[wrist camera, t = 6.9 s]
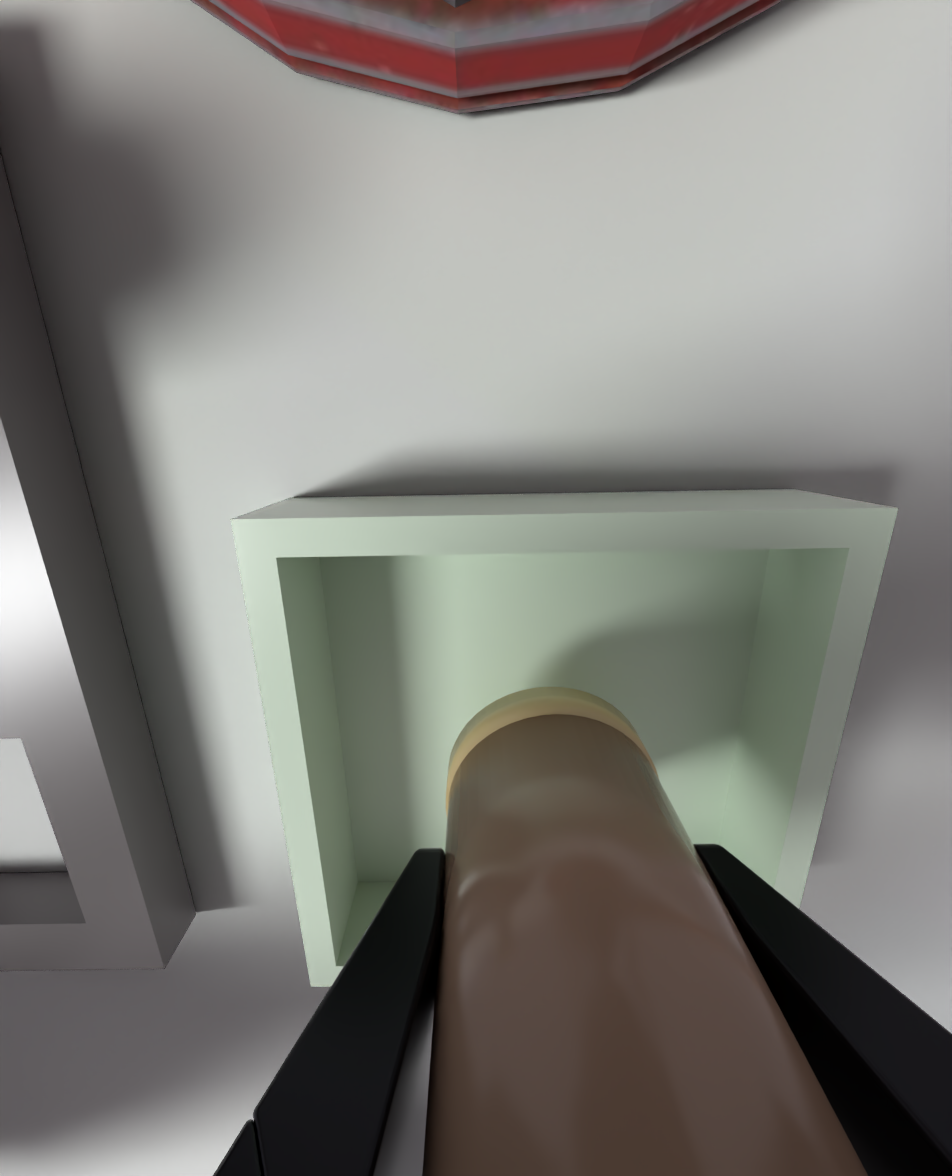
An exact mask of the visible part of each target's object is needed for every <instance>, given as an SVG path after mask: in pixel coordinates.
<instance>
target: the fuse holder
mask: <svg viewBox="0 0 952 1176" xmlns="http://www.w3.org/2000/svg"><path fill="white" fill-rule="evenodd" d="M4 738H21V740H22V743H23V746H24V748H25V751H26V754H27V757H28V760H29V763H30V765H31V768H32V771H33V774H34V777H35V780H36V782H37V785H38V788H39V791H40V794H41V797H42V799H43V802H44V805H45V808H46V811H47V814H48V817H49V819H50V822H51V825H52V828H53V831H54V834H55V836H56V839H57V842H58V845H59V848H60V851H61V853H62V856H63V859H64V862H65V865H66V868H67V870H68V872H59V873H0V971H36V970H109V969H165V967H166V965H167V964H168V962H169V960H170V958H171V957H172V955H173V953H174V952H175V950H176V948H177V946H178V945H179V943H180V941H181V939H182V938H183V936H184V934H185V932H186V931H187V929H188V927H189V926H190V924H191V922H192V920H193V919H194V917H195V915H196V911H195V908H194V904H193V900H192V896H191V892H190V888H189V884H188V880H187V876H186V873H185V869H184V865H183V861H182V857H181V853H180V849H179V845H178V842H177V838H176V834H175V830H174V826H173V822H172V818H171V814H170V810H169V807H168V803H167V799H166V795H165V791H164V787H163V783H162V779H161V775H160V772H159V768H158V764H157V760H156V756H155V752H154V748H153V744H152V741H151V737H150V733H149V729H148V725H147V721H146V717H145V713H144V709H143V706H142V702H141V698H140V694H139V690H138V686H137V682H136V678H135V674H134V671H133V667H132V663H131V659H130V655H129V651H128V647H127V643H126V640H125V636H124V632H123V628H122V624H121V620H120V616H119V612H118V608H117V605H116V601H115V597H114V593H113V589H112V585H111V581H110V577H109V574H108V570H107V566H106V562H105V558H104V554H103V550H102V546H101V542H100V539H99V535H98V531H97V527H96V523H95V519H94V515H93V511H92V507H91V504H90V500H89V496H88V492H87V488H86V484H85V480H84V476H83V473H82V469H81V465H80V461H79V457H78V453H77V449H76V445H75V441H74V438H73V434H72V430H71V426H70V422H69V418H68V414H67V410H66V406H65V403H64V399H63V395H62V391H61V387H60V383H59V379H58V375H57V372H56V368H55V364H54V360H53V356H52V352H51V348H50V344H49V340H48V337H47V333H46V329H45V325H44V321H43V317H42V313H41V309H40V305H39V302H38V298H37V294H36V290H35V286H34V282H33V278H32V274H31V271H30V267H29V263H28V259H27V255H26V251H25V247H24V243H23V239H22V236H21V232H20V228H19V224H18V220H17V216H16V212H15V208H14V204H13V201H12V197H11V193H10V189H9V185H8V181H7V177H6V173H5V170H4V166H3V162H2V158H1V154H0V739H4Z"/></svg>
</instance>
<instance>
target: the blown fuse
mask: <svg viewBox="0 0 952 1176" xmlns="http://www.w3.org/2000/svg"><path fill="white" fill-rule="evenodd" d="M446 815H447V829H446V843H445V864H444V878H443V893H442V907H441V922H440V936H439V948H438V959H437V972H436V986H435V1001H434V1015H433V1029H432V1044H431V1058H430V1072H429V1086H428V1101H427V1115H426V1129H425V1144H424V1158H423V1172H422V1176H868V1174H867V1172H866V1171H865V1169H864V1167H863V1165H862V1163H861V1161H860V1159H859V1157H858V1155H857V1154H856V1152H855V1150H854V1148H853V1146H852V1144H851V1142H850V1140H849V1138H848V1137H847V1135H846V1133H845V1131H844V1129H843V1127H842V1125H841V1123H840V1121H839V1120H838V1118H837V1116H836V1114H835V1112H834V1110H833V1108H832V1106H831V1104H830V1103H829V1101H828V1099H827V1097H826V1095H825V1093H824V1091H823V1089H822V1087H821V1085H820V1084H819V1082H818V1080H817V1078H816V1076H815V1074H814V1072H813V1070H812V1068H811V1067H810V1065H809V1063H808V1061H807V1059H806V1057H805V1055H804V1053H803V1051H802V1050H801V1048H800V1046H799V1044H798V1042H797V1040H796V1038H795V1036H794V1034H793V1033H792V1031H791V1029H790V1027H789V1025H788V1023H787V1021H786V1019H785V1017H784V1016H783V1014H782V1012H781V1010H780V1008H779V1006H778V1004H777V1002H776V1000H775V998H774V997H773V995H772V993H771V991H770V989H769V987H768V985H767V983H766V981H765V980H764V978H763V976H762V974H761V972H760V970H759V968H758V966H757V964H756V963H755V961H754V959H753V957H752V955H751V953H750V951H749V949H748V947H747V946H746V944H745V942H744V940H743V938H742V936H741V934H740V932H739V930H738V929H737V927H736V925H735V923H734V921H733V919H732V917H731V915H730V913H729V911H728V910H727V908H726V906H725V904H724V902H723V900H722V898H721V896H720V894H719V893H718V891H717V889H716V887H715V885H714V883H713V881H712V879H711V877H710V876H709V874H708V872H707V870H706V868H705V866H704V864H703V862H702V860H701V859H700V857H699V855H698V853H697V851H696V849H695V847H694V845H693V843H692V842H691V840H690V838H689V836H688V834H687V832H686V830H685V828H684V826H683V824H682V823H681V821H680V819H679V817H678V815H677V813H676V811H675V809H674V807H673V806H672V804H671V802H670V800H669V798H668V796H667V794H666V792H665V790H664V789H663V787H662V785H661V783H660V781H659V777H658V774H657V770H656V768H655V766H654V764H653V762H652V759H651V757H650V756H649V754H648V752H647V750H646V748H645V746H644V744H643V743H642V741H641V739H640V737H639V735H638V733H637V732H636V730H635V728H634V727H633V725H632V724H631V723H630V721H629V720H628V719H627V718H626V717H625V716H624V715H623V714H622V712H620V711H619V710H618V709H617V708H615V707H614V706H613V705H612V704H610V703H608V702H607V701H605V700H603V699H602V698H599V697H597V696H595V695H593V694H590V693H587V692H584V691H580V690H577V689H571V688H565V687H537V688H531V689H526V690H521V691H518V692H515V693H512V694H509V695H506V696H504V697H502V698H500V699H498V700H496V701H494V702H492V703H491V704H489V705H487V706H486V707H485V708H483V709H482V710H481V711H479V712H478V713H477V714H476V715H475V716H474V717H473V718H472V719H471V720H470V721H469V722H468V723H467V724H466V725H465V727H464V728H463V730H462V731H461V732H460V734H459V736H458V737H457V739H456V741H455V743H454V746H453V748H452V751H451V754H450V759H449V764H448V775H447V788H446Z"/></svg>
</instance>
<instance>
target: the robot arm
mask: <svg viewBox="0 0 952 1176" xmlns="http://www.w3.org/2000/svg"><path fill="white" fill-rule="evenodd" d="M693 845H694V847H695V849H696V851H697V853H698V855H699V857H700V859H701V860H702V862H703V864H704V866H705V868H706V870H707V872H708V874H709V876H710V877H711V879H712V881H713V883H714V885H715V887H716V889H717V891H718V893H719V894H720V896H721V898H722V900H723V902H724V904H725V906H726V908H727V910H728V911H729V913H730V915H731V917H732V919H733V921H734V923H735V925H736V927H737V929H738V930H739V932H740V934H741V936H742V938H743V940H744V942H745V944H746V946H747V947H748V949H749V951H750V953H751V955H752V957H753V959H754V961H755V963H756V964H757V966H758V968H759V970H760V972H761V974H762V976H763V978H764V980H765V981H766V983H767V985H768V987H769V989H770V991H771V993H772V995H773V997H774V998H775V1000H776V1002H777V1004H778V1006H779V1008H780V1010H781V1012H782V1014H783V1016H784V1017H785V1019H786V1021H787V1023H788V1025H789V1027H790V1029H791V1031H792V1033H793V1034H794V1036H795V1038H796V1040H797V1042H798V1044H799V1046H800V1048H801V1050H802V1051H803V1053H804V1055H805V1057H806V1059H807V1061H808V1063H809V1065H810V1067H811V1068H812V1070H813V1072H814V1074H815V1076H816V1078H817V1080H818V1082H819V1084H820V1085H821V1087H822V1089H823V1091H824V1093H825V1095H826V1097H827V1099H828V1101H829V1103H830V1104H831V1106H832V1108H833V1110H834V1112H835V1114H836V1116H837V1118H838V1120H839V1121H840V1123H841V1125H842V1127H843V1129H844V1131H845V1133H846V1135H847V1137H848V1138H849V1140H850V1142H851V1144H852V1146H853V1148H854V1150H855V1152H856V1154H857V1155H858V1157H859V1159H860V1161H861V1163H862V1165H863V1167H864V1169H865V1171H866V1172H867V1174H868V1176H952V1034H951V1033H950V1032H949V1031H948V1030H946V1029H945V1028H944V1027H943V1026H942V1025H940V1024H939V1023H938V1022H937V1021H935V1020H934V1019H933V1018H932V1017H931V1016H929V1015H928V1014H927V1013H926V1012H924V1011H923V1010H922V1009H921V1008H920V1007H918V1006H917V1005H916V1004H915V1003H913V1002H912V1001H911V1000H910V999H909V998H907V997H906V996H905V995H904V994H902V993H901V992H900V991H899V990H898V989H896V988H895V987H894V986H893V985H891V984H890V983H889V982H888V981H887V980H885V979H884V978H883V977H882V976H880V975H879V974H878V973H877V972H876V971H874V970H873V969H872V968H871V967H869V966H868V965H867V964H866V963H864V962H863V961H862V960H861V959H860V958H858V957H857V956H856V955H855V954H853V953H852V952H851V951H850V950H849V949H847V948H846V947H845V946H844V945H842V944H841V943H840V942H839V941H838V940H836V939H835V938H834V937H833V936H831V935H830V934H829V933H828V932H827V931H825V930H824V929H823V928H822V927H820V926H819V925H818V924H817V923H816V922H814V921H813V920H812V919H811V918H809V917H808V916H807V915H806V914H805V913H803V912H802V911H801V910H800V909H798V908H797V907H796V906H795V905H794V904H792V903H791V902H790V901H789V900H787V899H786V898H785V897H784V896H783V895H781V894H780V893H779V892H778V891H776V890H775V889H774V888H773V887H772V886H770V885H769V884H768V883H767V882H765V881H764V880H763V879H762V878H760V877H759V876H758V875H757V874H756V873H754V872H753V871H752V870H751V869H749V868H748V867H747V866H746V865H745V864H743V863H742V862H741V861H740V860H738V859H737V858H736V857H735V856H734V855H732V854H731V853H730V852H729V851H727V850H726V849H725V848H724V847H722V846H720V845H718V844H693ZM444 864H445V852H444V850H443V849H442V848H420V849H418V850H416V851H415V853H414V854H413V856H412V857H411V859H410V860H409V862H408V864H407V865H406V867H405V868H404V870H403V872H402V873H401V875H400V876H399V878H398V880H397V881H396V883H395V885H394V886H393V888H392V889H391V891H390V893H389V894H388V896H387V897H386V899H385V901H384V902H383V904H382V905H381V907H380V909H379V910H378V912H377V913H376V915H375V917H374V918H373V920H372V921H371V923H370V925H369V926H368V928H367V930H366V931H365V933H364V934H363V936H362V938H361V939H360V941H359V942H358V944H357V946H356V947H355V949H354V950H353V952H352V954H351V955H350V957H349V958H348V960H347V962H346V963H345V965H344V966H343V968H342V970H341V971H340V973H339V975H338V976H337V978H336V979H335V981H334V983H333V984H332V986H331V987H330V989H329V991H328V992H327V994H326V995H325V997H324V999H323V1000H322V1002H321V1003H320V1005H319V1007H318V1008H317V1010H316V1011H315V1013H314V1015H313V1016H312V1018H311V1019H310V1021H309V1023H308V1024H307V1026H306V1028H305V1029H304V1031H303V1032H302V1034H301V1036H300V1037H299V1039H298V1040H297V1042H296V1044H295V1045H294V1047H293V1048H292V1050H291V1052H290V1053H289V1055H288V1056H287V1058H286V1060H285V1061H284V1063H283V1064H282V1066H281V1068H280V1069H279V1071H278V1073H277V1074H276V1076H275V1077H274V1079H273V1081H272V1082H271V1084H270V1085H269V1087H268V1089H267V1090H266V1092H265V1093H264V1095H263V1097H262V1098H261V1100H260V1101H259V1103H258V1105H257V1106H256V1108H255V1110H254V1112H253V1118H254V1121H253V1120H248V1121H247V1122H246V1123H245V1125H244V1126H243V1128H242V1130H241V1131H240V1133H239V1135H238V1136H237V1138H236V1139H235V1141H234V1143H233V1144H232V1146H231V1147H230V1149H229V1151H228V1152H227V1154H226V1156H225V1157H224V1159H223V1160H222V1162H221V1164H220V1165H219V1167H218V1168H217V1170H216V1171H215V1173H214V1175H213V1176H422V1172H423V1158H424V1144H425V1129H426V1115H427V1101H428V1086H429V1072H430V1058H431V1044H432V1029H433V1015H434V1001H435V986H436V972H437V959H438V948H439V936H440V922H441V907H442V893H443V878H444Z"/></svg>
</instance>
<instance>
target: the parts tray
mask: <svg viewBox="0 0 952 1176" xmlns="http://www.w3.org/2000/svg"><path fill="white" fill-rule="evenodd" d="M897 512H898V508H896V507H891V506H885V505H880V504H874V503H869V502H863V501H858V500H852V499H847V498H841V497H836V496H830V495H825V494H819V493H814V492H808V491H803V490H797V489H764V490H706V491H649V492H591V493H533V494H476V495H418V496H361V497H303V498H288V499H285V500H283V501H280V502H277V503H274V504H272V505H269V506H266V507H263V508H261V509H258V510H255V511H252V512H250V513H247V514H244V515H241V516H238V517H236V518H233V519H230V520H231V526H232V532H233V537H234V543H235V549H236V555H237V561H238V567H239V572H240V578H241V584H242V590H243V596H244V601H245V607H246V613H247V619H248V625H249V631H250V636H251V642H252V648H253V654H254V660H255V665H256V671H257V677H258V683H259V689H260V695H261V700H262V706H263V712H264V718H265V724H266V729H267V735H268V741H269V747H270V753H271V759H272V764H273V770H274V776H275V782H276V788H277V793H278V799H279V805H280V811H281V817H282V823H283V828H284V834H285V840H286V846H287V852H288V857H289V863H290V869H291V875H292V881H293V887H294V892H295V898H296V904H297V910H298V916H299V921H300V927H301V933H302V939H303V945H304V951H305V956H306V962H307V968H308V974H309V980H310V985H311V987H331V986H332V984H333V983H334V981H335V979H336V978H337V976H338V975H339V973H340V971H341V970H342V968H343V966H344V965H345V963H346V962H347V960H348V958H349V957H350V955H351V954H352V952H353V950H354V949H355V947H356V946H357V944H358V942H359V941H360V939H361V938H362V936H363V934H364V933H365V931H366V930H367V928H368V926H369V925H370V923H371V921H372V920H373V918H374V917H375V915H376V913H377V912H378V910H379V909H380V907H381V905H382V904H383V902H384V901H385V899H386V897H387V896H388V894H389V893H390V891H391V889H392V888H393V886H394V885H395V883H396V881H397V880H398V878H399V876H400V875H401V873H402V872H403V870H404V868H405V867H406V865H407V864H408V862H409V860H410V859H411V857H412V856H413V854H414V853H415V851H416V850H418V849H420V848H442V849H443V850H444V852H445V843H446V829H447V815H446V788H447V775H448V764H449V759H450V754H451V751H452V748H453V746H454V743H455V741H456V739H457V737H458V736H459V734H460V732H461V731H462V730H463V728H464V727H465V725H466V724H467V723H468V722H469V721H470V720H471V719H472V718H473V717H474V716H475V715H476V714H477V713H478V712H479V711H481V710H482V709H483V708H485V707H486V706H487V705H489V704H491V703H492V702H494V701H496V700H498V699H500V698H502V697H504V696H506V695H509V694H512V693H515V692H518V691H521V690H526V689H531V688H537V687H565V688H571V689H577V690H580V691H584V692H587V693H590V694H593V695H595V696H597V697H599V698H602V699H603V700H605V701H607V702H608V703H610V704H612V705H613V706H614V707H615V708H617V709H618V710H619V711H620V712H622V714H623V715H624V716H625V717H626V718H627V719H628V720H629V721H630V723H631V724H632V725H633V727H634V728H635V730H636V732H637V733H638V735H639V737H640V739H641V741H642V743H643V744H644V746H645V748H646V750H647V752H648V754H649V756H650V757H651V759H652V762H653V764H654V766H655V768H656V770H657V774H658V777H659V781H660V783H661V785H662V787H663V789H664V790H665V792H666V794H667V796H668V798H669V800H670V802H671V804H672V806H673V807H674V809H675V811H676V813H677V815H678V817H679V819H680V821H681V823H682V824H683V826H684V828H685V830H686V832H687V834H688V836H689V838H690V840H691V842H692V843H693V844H718V845H720V846H722V847H724V848H725V849H726V850H727V851H729V852H730V853H731V854H732V855H734V856H735V857H736V858H737V859H738V860H740V861H741V862H742V863H743V864H745V865H746V866H747V867H748V868H749V869H751V870H752V871H753V872H754V873H756V874H757V875H758V876H759V877H760V878H762V879H763V880H764V881H765V882H767V883H768V884H769V885H770V886H772V887H773V888H774V889H775V890H776V891H778V892H779V893H780V894H781V895H783V896H784V897H785V898H786V899H787V900H789V901H790V902H791V903H792V904H794V905H795V906H796V907H797V908H798V909H799V908H800V904H801V900H802V896H803V892H804V888H805V884H806V880H807V876H808V872H809V868H810V864H811V860H812V856H813V852H814V848H815V844H816V840H817V836H818V832H819V828H820V824H821V820H822V815H823V811H824V807H825V803H826V799H827V795H828V791H829V787H830V783H831V779H832V775H833V771H834V767H835V763H836V759H837V755H838V751H839V747H840V743H841V739H842V735H843V731H844V727H845V723H846V718H847V714H848V710H849V706H850V702H851V698H852V694H853V690H854V686H855V682H856V678H857V674H858V670H859V666H860V662H861V658H862V654H863V650H864V646H865V642H866V638H867V634H868V630H869V626H870V621H871V617H872V613H873V609H874V605H875V601H876V597H877V593H878V589H879V585H880V581H881V577H882V573H883V569H884V565H885V561H886V557H887V553H888V549H889V545H890V541H891V537H892V533H893V529H894V524H895V520H896V516H897Z"/></svg>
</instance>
